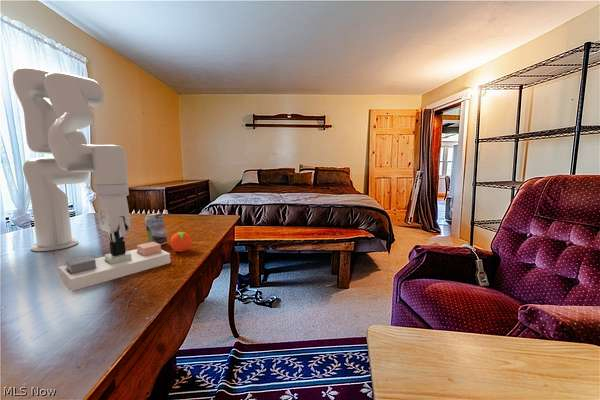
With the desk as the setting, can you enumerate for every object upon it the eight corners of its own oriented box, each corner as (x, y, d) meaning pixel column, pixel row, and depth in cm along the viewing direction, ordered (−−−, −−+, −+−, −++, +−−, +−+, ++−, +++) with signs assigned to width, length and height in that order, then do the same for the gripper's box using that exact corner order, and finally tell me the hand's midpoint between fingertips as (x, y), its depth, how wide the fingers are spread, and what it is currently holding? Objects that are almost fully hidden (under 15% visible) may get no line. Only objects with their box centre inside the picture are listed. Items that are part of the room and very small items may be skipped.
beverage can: (159, 248, 97) (157, 215, 96) (142, 246, 99) (139, 214, 97) (171, 243, 104) (169, 212, 102) (154, 241, 105) (152, 211, 103)
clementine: (194, 253, 92) (193, 233, 91) (171, 257, 89) (170, 235, 88) (190, 247, 99) (190, 228, 98) (170, 249, 96) (168, 230, 95)
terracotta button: (137, 254, 84) (136, 245, 84) (154, 250, 88) (153, 241, 88) (144, 258, 81) (143, 248, 81) (161, 253, 85) (160, 244, 85)
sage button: (105, 264, 78) (104, 254, 77) (124, 259, 82) (124, 250, 81) (111, 269, 75) (110, 258, 74) (131, 263, 79) (131, 253, 78)
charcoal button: (66, 271, 71) (65, 260, 71) (90, 265, 75) (89, 255, 75) (72, 276, 68) (70, 265, 68) (96, 270, 72) (95, 259, 71)
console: (59, 277, 73) (58, 266, 72) (152, 254, 91) (152, 245, 91) (72, 291, 65) (70, 279, 65) (170, 262, 84) (170, 253, 84)
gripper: (87, 189, 77) (94, 252, 79) (106, 193, 68) (112, 264, 70) (117, 187, 83) (123, 246, 85) (138, 191, 73) (143, 256, 76)
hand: (118, 254), depth 78 cm, fingers closed
